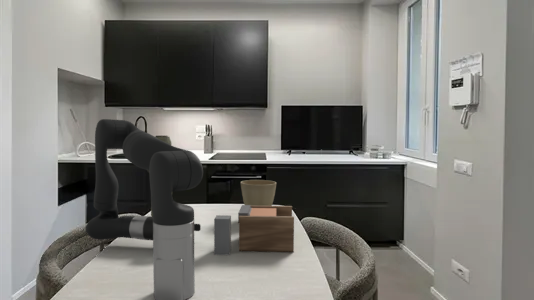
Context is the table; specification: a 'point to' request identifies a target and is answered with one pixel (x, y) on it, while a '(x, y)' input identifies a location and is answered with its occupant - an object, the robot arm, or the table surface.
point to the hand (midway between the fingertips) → (195, 231)
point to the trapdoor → (256, 211)
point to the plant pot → (258, 192)
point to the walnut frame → (267, 231)
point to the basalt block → (222, 235)
